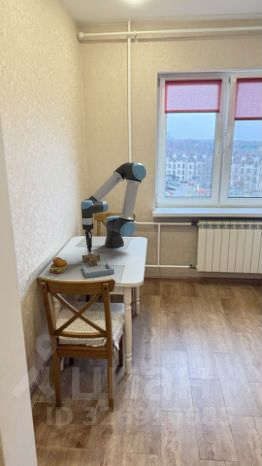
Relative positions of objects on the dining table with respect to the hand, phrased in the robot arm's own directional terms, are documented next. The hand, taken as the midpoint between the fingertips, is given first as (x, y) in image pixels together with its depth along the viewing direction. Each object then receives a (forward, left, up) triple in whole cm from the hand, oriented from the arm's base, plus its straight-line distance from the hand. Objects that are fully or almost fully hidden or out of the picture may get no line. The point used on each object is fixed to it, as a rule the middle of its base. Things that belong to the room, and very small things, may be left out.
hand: (89, 256), depth 225 cm
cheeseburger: (+23, +14, -2) cm, 27 cm away
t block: (0, +8, -2) cm, 8 cm away
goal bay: (0, +23, -2) cm, 23 cm away
